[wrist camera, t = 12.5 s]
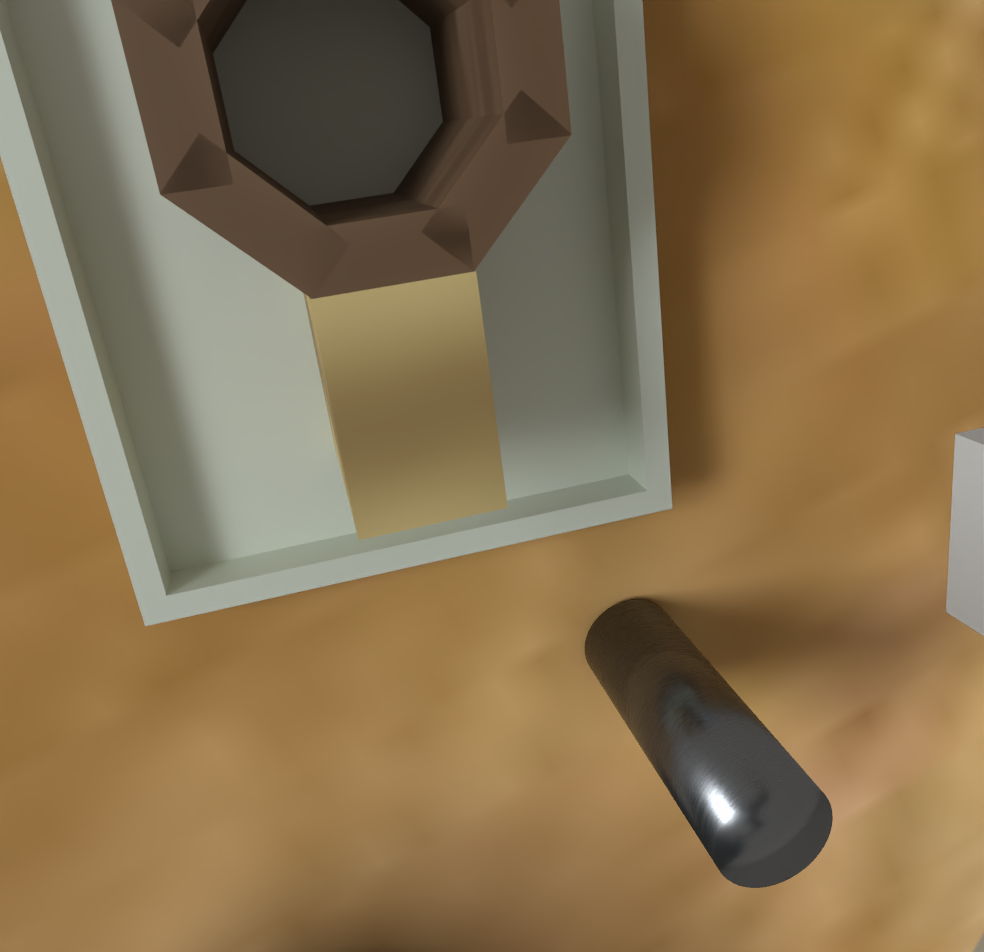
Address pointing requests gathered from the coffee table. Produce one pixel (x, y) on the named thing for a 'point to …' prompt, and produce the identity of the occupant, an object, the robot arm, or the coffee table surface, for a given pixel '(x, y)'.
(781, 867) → the cylinder
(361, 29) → the tray
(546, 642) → the coffee table surface
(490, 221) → the brown octagonal handled piece
